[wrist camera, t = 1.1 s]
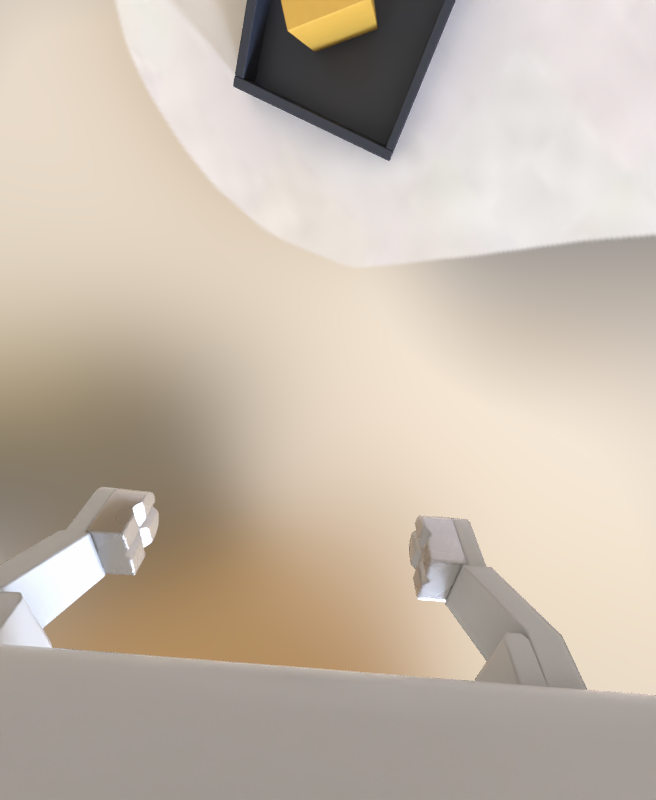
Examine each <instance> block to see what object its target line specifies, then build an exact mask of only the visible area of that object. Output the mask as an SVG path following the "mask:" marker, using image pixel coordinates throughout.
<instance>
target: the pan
mask: <svg viewBox="0 0 656 800" xmlns="http://www.w3.org/2000/svg"><path fill="white" fill-rule="evenodd" d="M374 2H375V10H376V18H377V26H378V29H376V30H374V31H371V32H368V33H365V34H363V35H360V36H357V37H355V38H352V39H349V40H347V41H344V42H341V43H338V44H336V45H333V46H330V47H328V48H325V49H322V50H320V51H317V52H314V51H313V50H312V49H310V48H309V47H308V46H306V45H305V44H304V43H303V42H301V41H300V40H299V39H297V38H296V37H295V36H294V35H292V34H291V33H290V32H288V30H287V26H286V21H285V17H284V12H283V8H282V3H281V0H247V5H246V11H245V17H244V23H243V29H242V36H241V42H240V48H239V54H238V60H237V66H236V72H235V75H236V76H235V78H234V84H233V86H234V87H236V88H238V89H240V90H242V91H244V92H246V93H248V94H250V95H252V96H254V97H257V98H259V99H261V100H263V101H265V102H267V103H269V104H271V105H273V106H275V107H277V108H280V109H282V110H284V111H286V112H288V113H290V114H292V115H294V116H296V117H298V118H300V119H302V120H305V121H307V122H309V123H311V124H313V125H315V126H317V127H319V128H321V129H323V130H325V131H328V132H330V133H332V134H334V135H336V136H338V137H340V138H342V139H344V140H346V141H348V142H351V143H353V144H355V145H357V146H359V147H361V148H363V149H365V150H367V151H369V152H371V153H373V154H376V155H378V156H380V157H382V158H384V159H386V160H388V161H389V160H390V159H391V156H392V154H393V151H394V149H395V146H396V144H397V142H398V139H399V137H400V134H401V132H402V129H403V127H404V124H405V122H406V120H407V117H408V115H409V112H410V110H411V107H412V105H413V103H414V100H415V98H416V95H417V93H418V90H419V88H420V86H421V83H422V81H423V78H424V76H425V73H426V71H427V68H428V66H429V64H430V61H431V59H432V56H433V54H434V51H435V49H436V47H437V44H438V42H439V39H440V37H441V34H442V32H443V29H444V27H445V25H446V22H447V20H448V17H449V15H450V12H451V10H452V8H453V5H454V3H455V0H374Z"/></svg>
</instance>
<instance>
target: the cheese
mask: <svg viewBox="0 0 656 800" xmlns="http://www.w3.org/2000/svg"><path fill="white" fill-rule="evenodd" d="M281 3H282V8H283V12H284V17H285V21H286V26H287V30H288V32H290V33H291V34H292V35H294V36H295V37H296V38H297V39H299V40H300V41H301V42H303V43H304V44H305V45H306V46H308V47H309V48H310V49H312V50H313V51H314V52H317V51H320V50H322V49H325V48H328V47H330V46H333V45H336V44H338V43H341V42H344V41H347V40H349V39H352V38H355V37H357V36H360V35H363V34H365V33H368V32H371V31H374V30H376V29H378V26H377V18H376V10H375V2H374V0H281Z"/></svg>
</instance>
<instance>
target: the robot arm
mask: <svg viewBox="0 0 656 800" xmlns="http://www.w3.org/2000/svg"><path fill="white" fill-rule="evenodd" d="M154 502H155V497H154V494H153V493H152V492H145V491H135V490H127V489H119V488H118V489H116V488H107V487H100V488H99V489H98V490H96V491H95V492H94V494H93V495H92V496H91V497H90V499H89V500H88V501H87V503H86V504H85V505H84V507H83V508H82V509H81V511H80V512H79V513H78V514H77V516H76V517H75V518H74V520H73V521H72V522H71V524H70V525H69V526H68V528H67V529H66V530H65V531H64V530H60V531H58V532H56V533H54V534H53V535H51V536H49V537H47V538H46V539H44V540H42V541H40V542H39V543H37V544H35V545H34V546H32V547H30V548H28V549H27V550H25V551H23V552H21V553H20V554H18V555H16V556H14V557H13V558H11V559H9V560H7V561H6V562H4V563H2V564H0V800H656V695H647V694H633V693H622V692H609V691H596V690H587V688H586V686H585V684H584V682H583V680H582V677H581V675H580V673H579V671H578V669H577V667H576V665H575V662H574V660H573V658H572V656H571V654H570V652H569V650H568V648H567V645H566V643H565V641H564V639H563V637H562V635H561V634H560V633H559V632H558V631H556V629H554V628H553V627H552V626H551V625H550V624H549V623H548V622H547V621H546V620H545V619H544V618H543V617H542V616H541V615H540V614H539V613H538V612H537V611H536V610H535V609H534V608H533V607H532V606H531V605H530V604H529V603H528V602H527V601H526V600H524V598H522V597H521V596H520V595H519V594H518V593H517V592H516V591H515V590H514V589H513V588H512V587H511V586H510V585H509V584H508V583H507V582H506V581H505V580H504V579H503V578H502V577H501V576H500V575H499V574H498V573H497V572H495V570H493V568H491V567H486V564H485V562H484V559H483V557H482V554H481V551H480V548H479V545H478V543H477V540H476V537H475V535H474V532H473V529H472V527H471V524H470V522H469V521H468V520H467V519H456V518H446V517H433V516H418V517H417V519H416V522H415V526H416V531H414V532H413V533H412V535H411V538H410V546H409V555H410V562H411V565H412V566H413V567H414V568H415V569H416V571H415V574H414V577H413V579H414V585H415V590H416V596H417V599H424V600H432V601H441V602H442V601H443V602H445V604H446V605H447V607H448V608H449V610H450V611H451V612H452V614H453V615H454V617H455V618H456V619H457V621H458V622H459V623H460V625H461V626H462V628H463V629H464V630H465V632H466V633H467V634H468V636H469V637H470V639H471V640H472V642H473V643H474V644H475V646H476V647H477V649H478V650H479V651H480V653H481V654H482V655H483V657H484V658H485V660H486V661H487V662H486V664H485V665H484V666H483V668H482V670H481V671H480V672H479V674H478V675H477V677H476V678H475V681H468V680H455V679H441V678H430V677H417V676H404V675H391V674H379V673H366V672H354V671H341V670H328V669H316V668H304V667H291V666H277V665H266V664H252V663H240V662H227V661H215V660H202V659H189V658H175V657H162V656H151V655H138V654H125V653H112V652H99V651H86V650H74V649H61V648H51V647H52V646H51V642H50V640H49V638H48V637H47V635H46V633H45V632H44V630H43V627H45V626H46V625H47V624H48V623H49V622H50V621H52V620H53V619H54V618H55V617H56V616H57V615H59V614H60V613H61V612H62V611H64V610H65V609H66V608H67V607H68V606H69V605H71V604H72V603H73V602H74V601H75V600H77V599H78V598H79V597H80V596H81V595H83V594H84V593H85V592H86V591H87V590H89V589H90V588H91V587H92V586H93V585H94V584H96V583H97V582H98V581H99V580H100V579H102V578H103V577H104V576H105V574H122V575H135V574H136V572H137V570H138V568H139V567H140V565H141V563H142V561H143V559H144V557H145V552H144V547H146V546H147V545H148V544H150V543H151V542H152V541H153V539H154V537H155V535H156V532H157V528H158V524H159V515H158V511H157V510H156V509H155V508H154V507H153V504H154Z"/></svg>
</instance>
